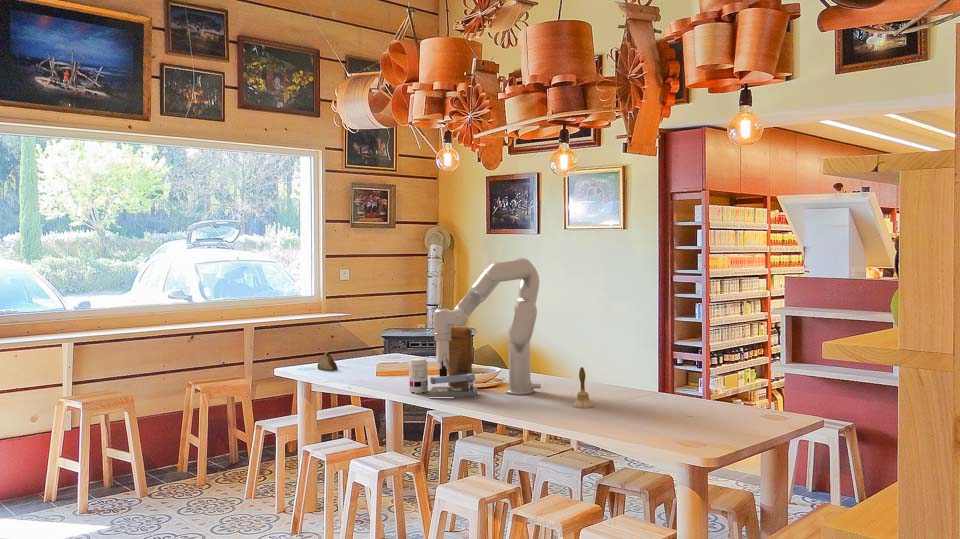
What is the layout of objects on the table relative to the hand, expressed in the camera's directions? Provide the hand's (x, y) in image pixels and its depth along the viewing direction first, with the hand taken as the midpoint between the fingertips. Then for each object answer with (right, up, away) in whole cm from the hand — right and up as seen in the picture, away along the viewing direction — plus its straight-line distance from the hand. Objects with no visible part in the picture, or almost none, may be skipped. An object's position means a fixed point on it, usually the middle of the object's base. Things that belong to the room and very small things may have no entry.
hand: (443, 377), depth 347 cm
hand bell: (+59, -8, -27) cm, 65 cm away
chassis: (+5, -8, -3) cm, 10 cm away
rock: (-65, -5, +68) cm, 94 cm away
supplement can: (-11, -8, +7) cm, 15 cm away
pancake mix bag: (+6, -7, +16) cm, 19 cm away
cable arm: (+5, -1, -4) cm, 6 cm away
